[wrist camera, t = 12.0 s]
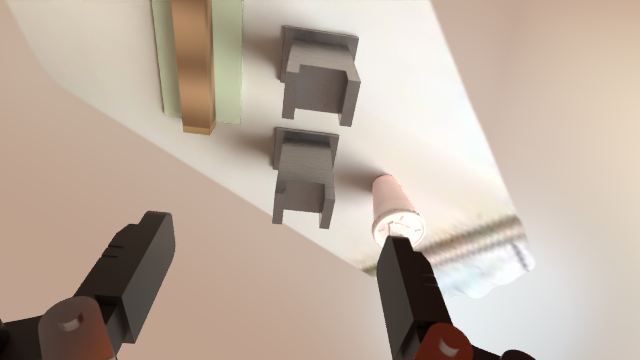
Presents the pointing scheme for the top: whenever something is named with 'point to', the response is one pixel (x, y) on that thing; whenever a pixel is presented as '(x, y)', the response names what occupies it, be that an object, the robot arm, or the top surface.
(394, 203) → the smoothie
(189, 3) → the rail
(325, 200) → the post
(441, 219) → the top surface
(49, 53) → the top surface
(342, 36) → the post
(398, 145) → the top surface
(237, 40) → the mat
